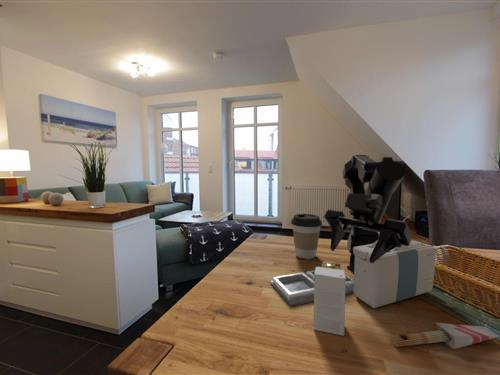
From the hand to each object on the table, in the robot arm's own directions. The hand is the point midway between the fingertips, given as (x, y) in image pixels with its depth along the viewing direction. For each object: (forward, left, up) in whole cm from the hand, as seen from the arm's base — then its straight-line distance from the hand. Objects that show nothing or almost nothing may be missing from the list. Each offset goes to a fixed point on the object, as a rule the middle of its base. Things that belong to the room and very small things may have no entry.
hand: (349, 255), depth 54 cm
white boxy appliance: (-16, -2, -14) cm, 21 cm away
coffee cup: (-10, -33, -14) cm, 37 cm away
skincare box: (+7, +3, -14) cm, 16 cm away
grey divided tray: (+1, -12, -13) cm, 18 cm away
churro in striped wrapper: (-11, +13, -14) cm, 22 cm away
